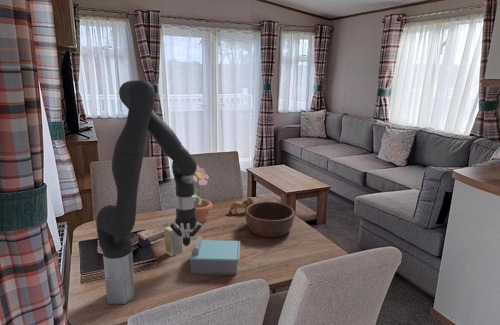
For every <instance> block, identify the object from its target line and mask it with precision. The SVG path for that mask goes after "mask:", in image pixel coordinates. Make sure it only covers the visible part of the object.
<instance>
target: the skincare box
mask: <svg viewBox="0 0 500 325" xmlns="http://www.w3.org/2000/svg"><path fill="white" fill-rule="evenodd" d="M177 227H178V228H179V226H178V225H177ZM179 229H180V228H179ZM180 230H181V229H180ZM164 231H165V240H164V243H165V254H167V255H169V256H170V257H174V256H175V255H178V254H180V253H182V252H183V251H184V250H183V248H184V247H183V238H182V237H181V236H178V235H177V234H176V233H175V232H174V231H173V230H172V228H171V227H170V226H168V227H166V228H164Z"/></svg>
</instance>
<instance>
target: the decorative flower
mask: <svg viewBox="0 0 500 325" xmlns="http://www.w3.org/2000/svg"><path fill="white" fill-rule="evenodd" d="M206 172H207V171H206V170H205V168H203V167H200V166H199V164H197V169H196V172H195V173H194V174H193V175H191V176H190V178H191V179H192V181H193V182H194V196H195V217H196V219H197V222H199V223H202V224H203V223H205V222H207V220H208V215H209V211H210V210H212V208H213V203H212V202H211V201H210V200H209V199H203V198H201V197H199V196H198V195H197V193H196V191H197V189H198V190H200V191H202V190H203V187H201V186H207V185H208V180H209V179H210V177H209V175H208V173H206Z"/></svg>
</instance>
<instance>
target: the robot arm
mask: <svg viewBox="0 0 500 325" xmlns="http://www.w3.org/2000/svg"><path fill="white" fill-rule="evenodd" d="M118 96H119V99H120V101H121V102H122V104H123V106H125V107H126V108H127V109H128V111H127V118H126V122H125V125H124V127H123V129H122V130H121V132H120V133H119V136H118V139H117V140H116V142H115V145H114V149H113V153H112V154H113V155H112V159H111V172H112V176H113V180H114V182H115V188H116V194H117V195H116V202H115V203H116V204H115V205H114V204H108V205H105V206H103V207H102V208H101V209H100V210H99V211H98V213H97V216H96V224H95V225H96V232H97V238H98V245H99V247H100V249H101V251H102V258H103V268H104V277H105V278H104V279H105V291H106V299H107V300H106V301H107V304H109V305H110V304H112V305H125V304H127V302H129V301H130V300H132V299H134V296H136V286H135V285H136V284H135V272H134V259H133V243H132V242H131V240H130V239H129V238H128V237H127V236H129V235H130V234H131V232H132V231H133V229H134V226H135V224H136V217H137V198H138V190H139V183H140V182H139V181H140V176H141V170H142V166H143V165H142V164H143V160H144V154H145V153H144V152H145V146H146V140H147V136H148V135H147V134H148V132H149V133H150V135H151V136H152V137H153V139H154V140H155V142H156V143H157V145H158V146H159V147H160V149H161V151H162V152H163V153H164V155H166V156H167V157H168V158H169V159H171V160H172V162H171V171H172V174H173V176H172V177H173V179H174V182H175V215H176V216H175V220H174V221H172V222H171V223H170V224H169V225H170V227H171V228H172V230H173V231H174V232H175V233H176V234H177V235H178V236H181V237H182V246H183V245H184V247H188V246H189V245H190V244H191V237H192V238H193V237H194V236H196V234H197V233H198V231H199V230H200V229H202V225H203V223H199V222H197V219H196V217H195V196H194V184H195V182H194V180H193V178H192V177H191V175H193V174H194V173H195V172H196V169H197V165H198V164H197V161H196V160H195V158H194V157H193V155H192V154H191V153H190V152H189V151H188V150H187V149H186V148H185V146H183V144H182V142H181V141H180V139H179V138H178V136H177V134H176V133H175V131H174V130H173V129H172V128H171V127H170V126H169V125H168V124H167V123H166V122H165V121H164V120H163V119H162V118H160V116H159V115H158V114H157V113H156V112H155V110H154V106H155V101H156V91H155V87H154V85H153V84H152V83H151V82H150V81H147V80H145V79H138V80H135V79H134V80H127V81H125V82H124V83H122V84H121V86H120V87H119V90H118ZM177 225H178V226H179V228H180V229H181V230H180V229H179V228H178V227H177ZM194 226H195V227H194ZM193 227H194V229H193ZM192 229H193V230H192Z"/></svg>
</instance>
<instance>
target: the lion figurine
mask: <svg viewBox="0 0 500 325" xmlns="http://www.w3.org/2000/svg"><path fill="white" fill-rule="evenodd" d="M253 203H255V199H254V197H251V196H249V197H248V198H247V199H246V200H244V201H243V202H241V201H234V202H232V203H231V206H230V210H229V211H228V214H230V213H234V214H235V215H238V214H239V212H237V210H238V209H241V210H242V209H244V210H245V209H246V207H247V206H249V205H251V204H253ZM233 210H234V211H233Z"/></svg>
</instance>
